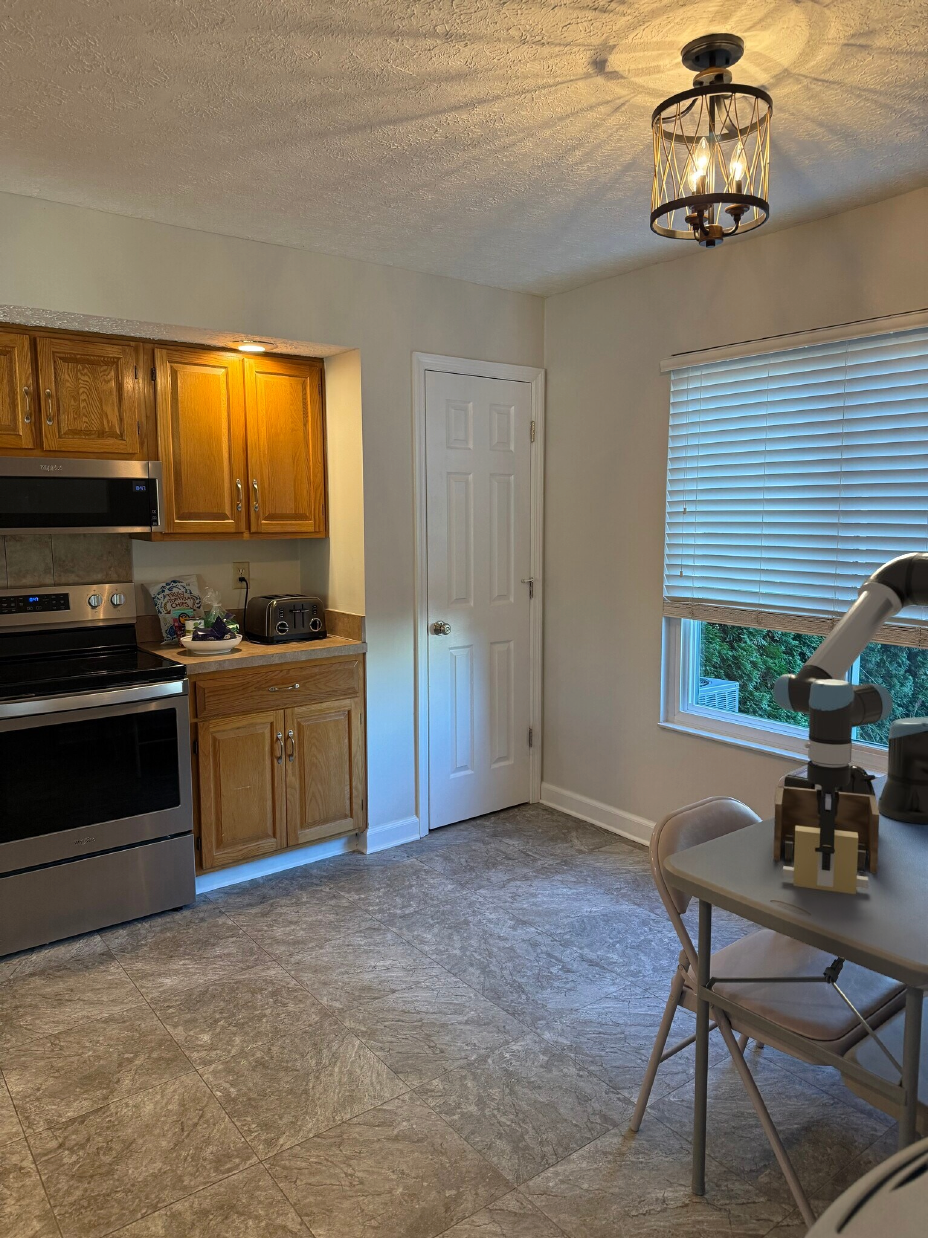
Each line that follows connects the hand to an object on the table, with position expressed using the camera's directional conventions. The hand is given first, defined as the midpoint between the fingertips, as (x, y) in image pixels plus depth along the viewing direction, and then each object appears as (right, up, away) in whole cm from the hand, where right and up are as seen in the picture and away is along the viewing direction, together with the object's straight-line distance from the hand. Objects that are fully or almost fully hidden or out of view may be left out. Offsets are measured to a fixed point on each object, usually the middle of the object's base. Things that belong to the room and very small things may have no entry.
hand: (824, 873), depth 165 cm
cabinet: (+7, -1, +16) cm, 17 cm away
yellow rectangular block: (0, -3, 0) cm, 3 cm away
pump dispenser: (+19, 0, +30) cm, 35 cm away
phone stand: (+7, +1, +32) cm, 33 cm away
